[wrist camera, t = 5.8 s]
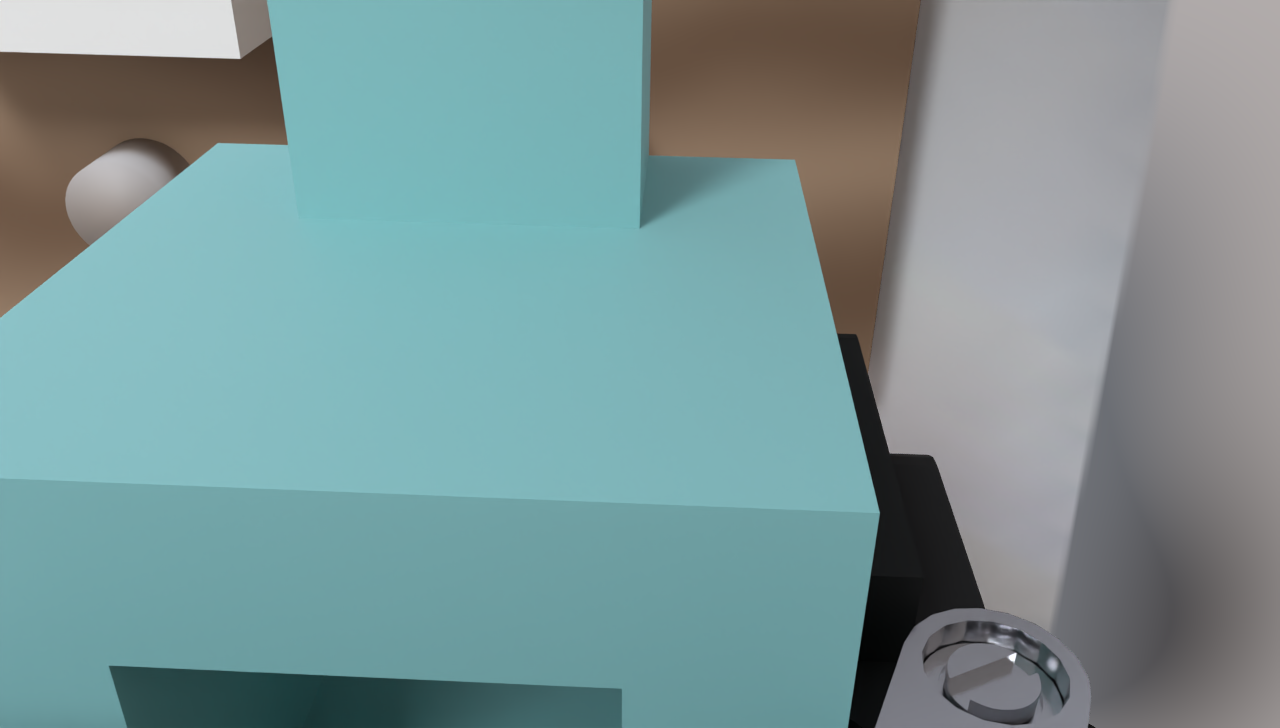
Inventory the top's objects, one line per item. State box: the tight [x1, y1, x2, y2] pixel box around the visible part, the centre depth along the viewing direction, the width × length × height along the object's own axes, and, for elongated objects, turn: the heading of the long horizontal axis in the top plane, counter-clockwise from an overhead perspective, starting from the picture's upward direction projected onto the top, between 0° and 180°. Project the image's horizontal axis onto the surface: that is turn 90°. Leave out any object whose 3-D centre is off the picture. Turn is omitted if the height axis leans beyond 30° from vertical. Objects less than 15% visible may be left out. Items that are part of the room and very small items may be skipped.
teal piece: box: [0, 0, 880, 728], centre depth 9 cm, size 9×6×6 cm, turn 179°
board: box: [0, 0, 921, 373], centre depth 23 cm, size 18×24×7 cm
